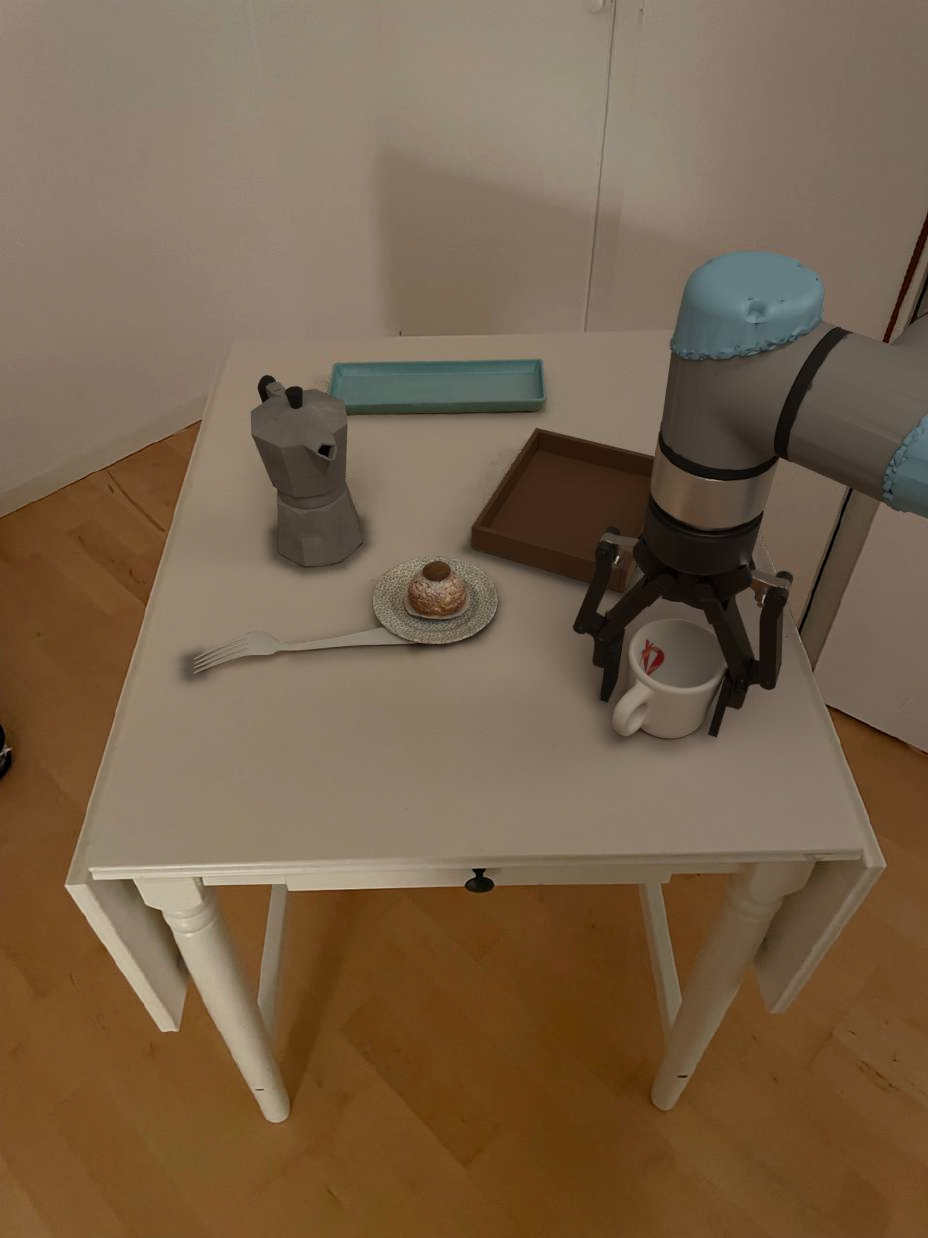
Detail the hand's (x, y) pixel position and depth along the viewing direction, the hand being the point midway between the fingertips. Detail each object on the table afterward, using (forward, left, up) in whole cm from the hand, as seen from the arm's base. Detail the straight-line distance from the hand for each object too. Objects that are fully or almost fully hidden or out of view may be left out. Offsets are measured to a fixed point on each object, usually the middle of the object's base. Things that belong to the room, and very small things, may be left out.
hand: (661, 706), depth 77 cm
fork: (+32, +5, -3) cm, 32 cm away
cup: (0, 0, -3) cm, 3 cm away
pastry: (+23, -5, -2) cm, 24 cm away
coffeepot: (+40, -10, -3) cm, 41 cm away
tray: (+15, -23, -2) cm, 28 cm away
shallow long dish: (+38, -37, -3) cm, 54 cm away
